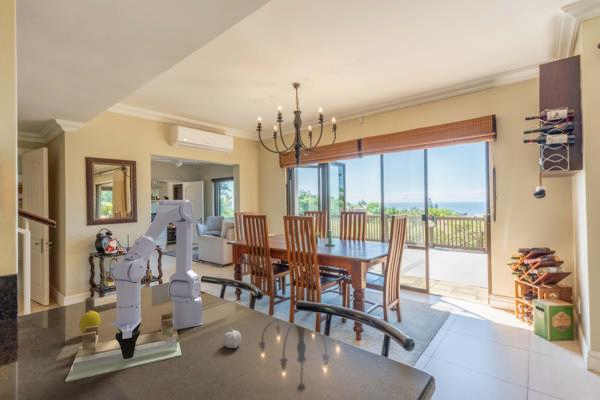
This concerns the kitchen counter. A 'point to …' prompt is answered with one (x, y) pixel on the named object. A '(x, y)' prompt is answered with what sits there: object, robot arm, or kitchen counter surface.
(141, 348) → the rail
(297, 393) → the kitchen counter surface
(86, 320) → the lemon
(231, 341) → the garlic
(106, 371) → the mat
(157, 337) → the rack
